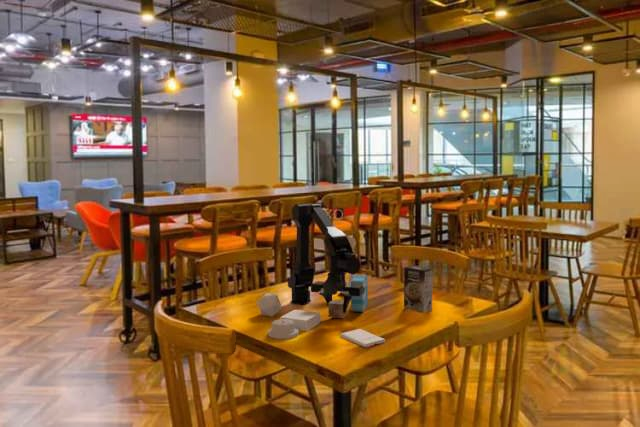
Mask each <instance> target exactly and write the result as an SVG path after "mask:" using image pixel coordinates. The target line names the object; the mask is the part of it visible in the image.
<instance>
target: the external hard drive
mask: <svg viewBox="0 0 640 427" xmlns="http://www.w3.org/2000/svg"><path fill="white" fill-rule="evenodd" d="M340 337H341V338H342V339H345V340H347V341H350V342H352V343H354V344H356V345H358V346H361V347H364V348H367V347H372V346H374V345H379V344H380V345H381V344H384V343H386V339H385V338H383V337H380V336H378V335H375V334H373V333H370V332H368V331H367V330H364V329H361V328H358V329H354V330H350V331H346V332H342V333H340Z"/></svg>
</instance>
